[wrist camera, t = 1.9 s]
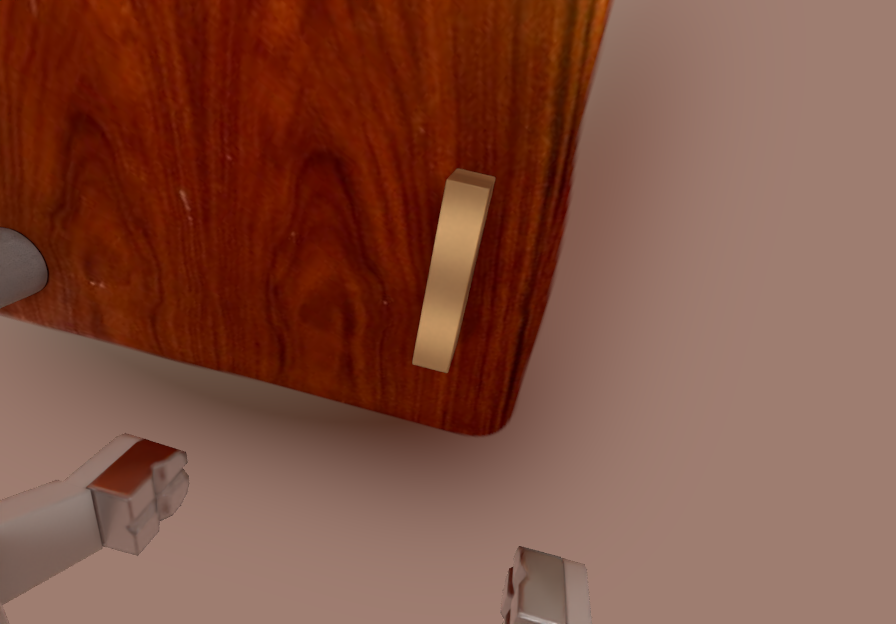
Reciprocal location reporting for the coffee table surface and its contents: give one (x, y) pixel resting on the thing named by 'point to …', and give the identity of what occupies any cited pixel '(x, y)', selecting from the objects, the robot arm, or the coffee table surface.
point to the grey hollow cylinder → (19, 267)
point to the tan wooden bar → (452, 267)
